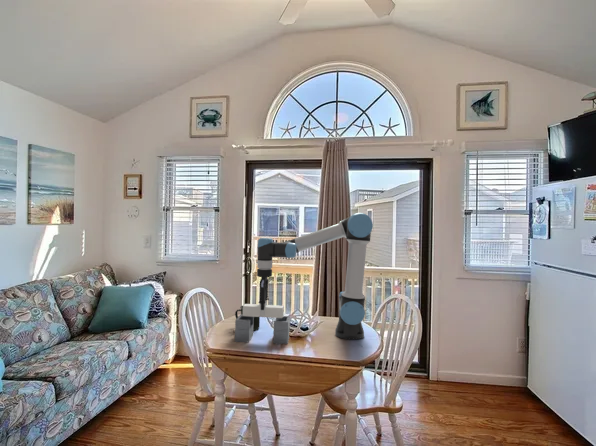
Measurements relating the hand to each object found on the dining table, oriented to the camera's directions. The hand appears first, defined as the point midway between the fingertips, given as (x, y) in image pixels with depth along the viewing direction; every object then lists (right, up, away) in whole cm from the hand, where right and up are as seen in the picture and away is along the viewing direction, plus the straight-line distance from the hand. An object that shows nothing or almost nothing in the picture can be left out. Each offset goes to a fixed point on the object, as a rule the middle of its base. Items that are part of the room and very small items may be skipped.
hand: (263, 314), depth 176 cm
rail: (0, -1, 0) cm, 1 cm away
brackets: (0, -12, 0) cm, 12 cm away
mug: (-11, -12, +18) cm, 24 cm away
